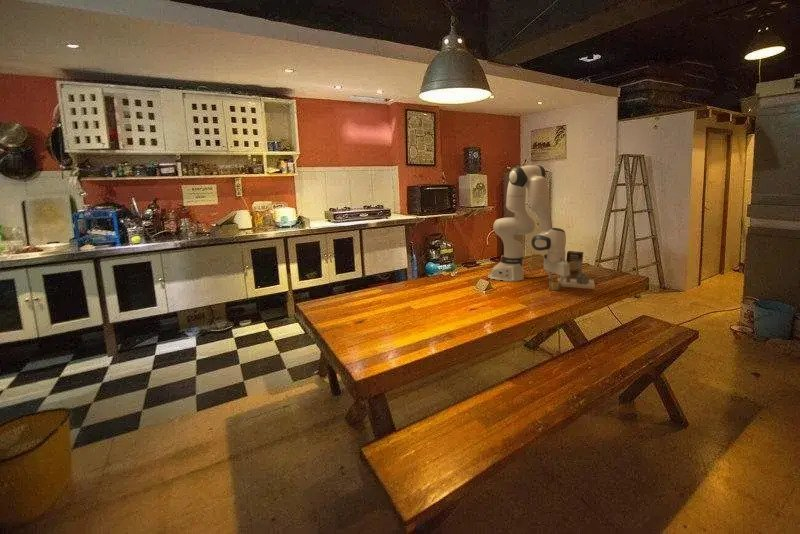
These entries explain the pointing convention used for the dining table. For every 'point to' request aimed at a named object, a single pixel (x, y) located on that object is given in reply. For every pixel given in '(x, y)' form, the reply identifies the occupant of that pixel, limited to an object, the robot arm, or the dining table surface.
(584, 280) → the gear board
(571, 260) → the coffee box
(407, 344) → the dining table surface
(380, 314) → the dining table surface
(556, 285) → the brass gear
